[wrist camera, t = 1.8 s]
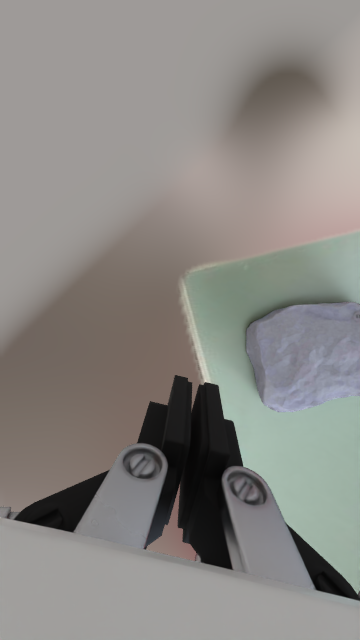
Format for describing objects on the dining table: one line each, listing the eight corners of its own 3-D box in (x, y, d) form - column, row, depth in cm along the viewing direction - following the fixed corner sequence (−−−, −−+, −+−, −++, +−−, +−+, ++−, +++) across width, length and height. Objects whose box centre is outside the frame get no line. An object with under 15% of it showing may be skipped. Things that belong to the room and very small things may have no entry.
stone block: (236, 317, 29) (258, 404, 29) (243, 318, 24) (269, 423, 24) (346, 289, 28) (368, 379, 28) (376, 284, 23) (403, 394, 23)
